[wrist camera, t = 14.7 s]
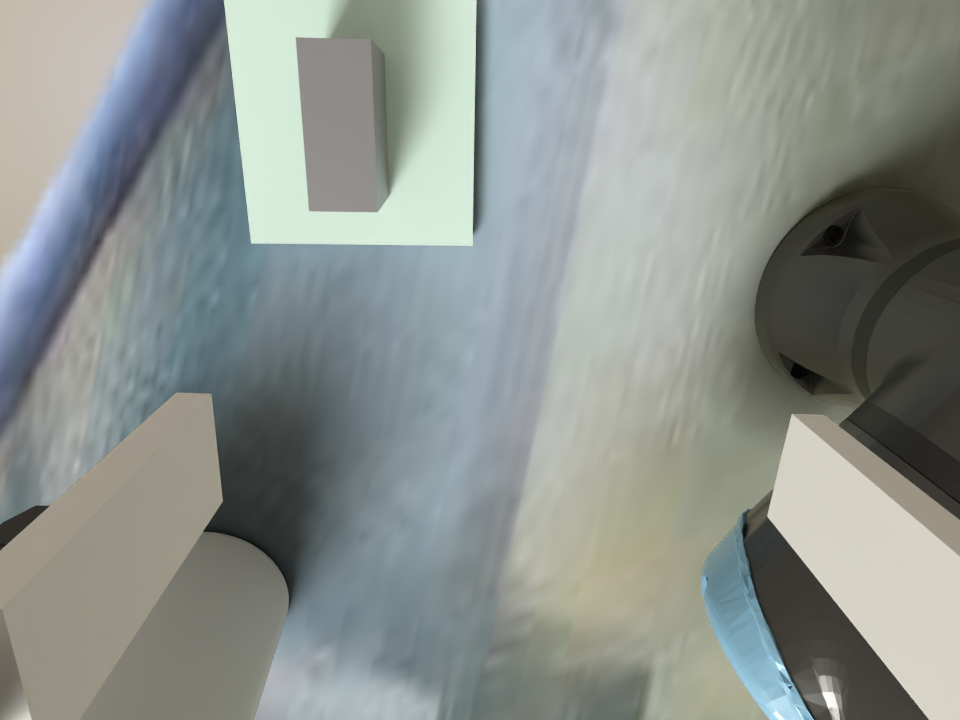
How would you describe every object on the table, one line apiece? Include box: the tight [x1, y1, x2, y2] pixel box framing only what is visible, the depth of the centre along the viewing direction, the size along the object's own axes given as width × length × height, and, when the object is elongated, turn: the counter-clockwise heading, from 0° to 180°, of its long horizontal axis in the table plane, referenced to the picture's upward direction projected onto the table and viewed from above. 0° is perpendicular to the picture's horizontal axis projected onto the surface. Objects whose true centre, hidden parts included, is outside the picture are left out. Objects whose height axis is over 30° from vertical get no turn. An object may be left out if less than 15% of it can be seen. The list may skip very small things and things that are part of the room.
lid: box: [224, 0, 476, 246], centre depth 35 cm, size 14×14×9 cm
